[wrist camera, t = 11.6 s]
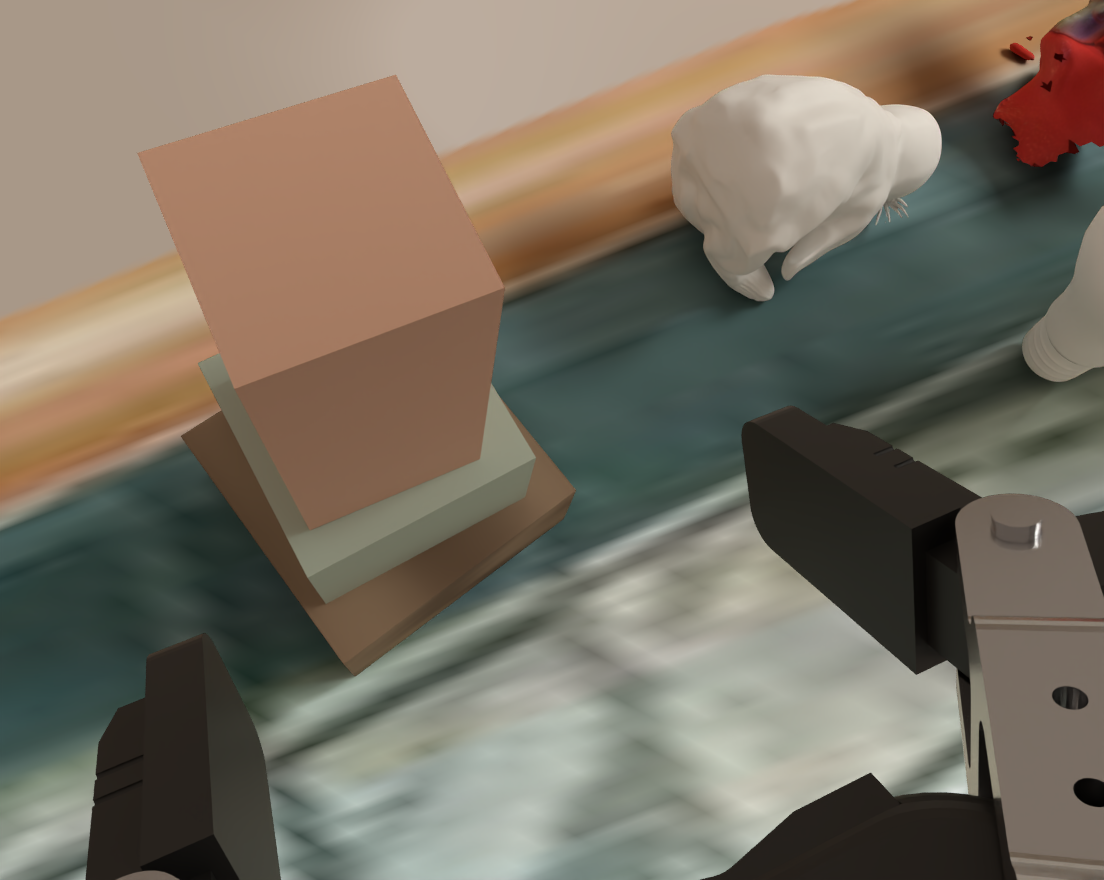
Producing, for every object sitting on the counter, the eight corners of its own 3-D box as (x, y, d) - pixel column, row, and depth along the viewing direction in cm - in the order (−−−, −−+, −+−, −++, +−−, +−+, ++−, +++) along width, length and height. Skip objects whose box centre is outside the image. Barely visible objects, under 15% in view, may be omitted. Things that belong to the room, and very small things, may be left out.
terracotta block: (409, 311, 27) (395, 74, 18) (480, 459, 26) (504, 287, 17) (243, 372, 26) (137, 153, 17) (310, 530, 25) (234, 389, 16)
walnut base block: (416, 341, 36) (412, 290, 32) (562, 521, 34) (576, 490, 30) (211, 474, 33) (180, 436, 30) (356, 677, 32) (343, 664, 28)
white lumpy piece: (687, 51, 30) (956, -22, 34) (620, 208, 38) (846, 134, 42) (788, 204, 29) (1058, 109, 33) (697, 336, 36) (924, 246, 40)
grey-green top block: (422, 324, 32) (419, 264, 28) (525, 497, 30) (535, 457, 26) (228, 414, 30) (197, 363, 26) (326, 603, 28) (307, 577, 25)
